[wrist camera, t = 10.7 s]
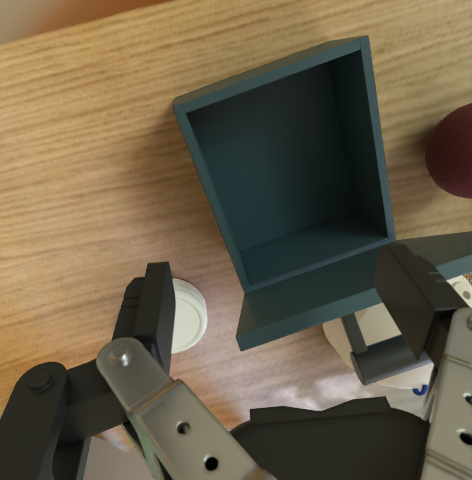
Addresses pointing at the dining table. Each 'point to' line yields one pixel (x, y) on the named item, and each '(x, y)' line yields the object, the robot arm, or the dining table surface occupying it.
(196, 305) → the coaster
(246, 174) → the teal box
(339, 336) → the cream rounded piece
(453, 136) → the decorative ball
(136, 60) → the dining table surface
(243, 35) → the dining table surface
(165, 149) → the dining table surface
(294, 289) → the box lid with handle
